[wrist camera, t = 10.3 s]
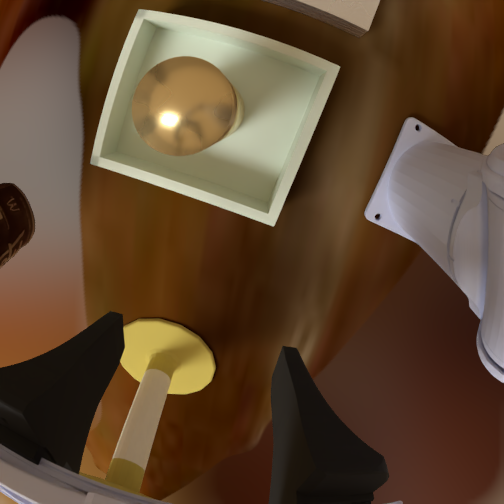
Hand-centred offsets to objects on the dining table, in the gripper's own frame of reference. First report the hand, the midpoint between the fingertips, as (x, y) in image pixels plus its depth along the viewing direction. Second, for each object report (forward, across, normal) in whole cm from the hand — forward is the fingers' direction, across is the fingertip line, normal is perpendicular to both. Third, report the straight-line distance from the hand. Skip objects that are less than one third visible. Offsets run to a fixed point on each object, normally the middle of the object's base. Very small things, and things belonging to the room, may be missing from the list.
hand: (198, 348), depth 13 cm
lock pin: (+10, +2, -10) cm, 14 cm away
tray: (+10, +2, -10) cm, 14 cm away
